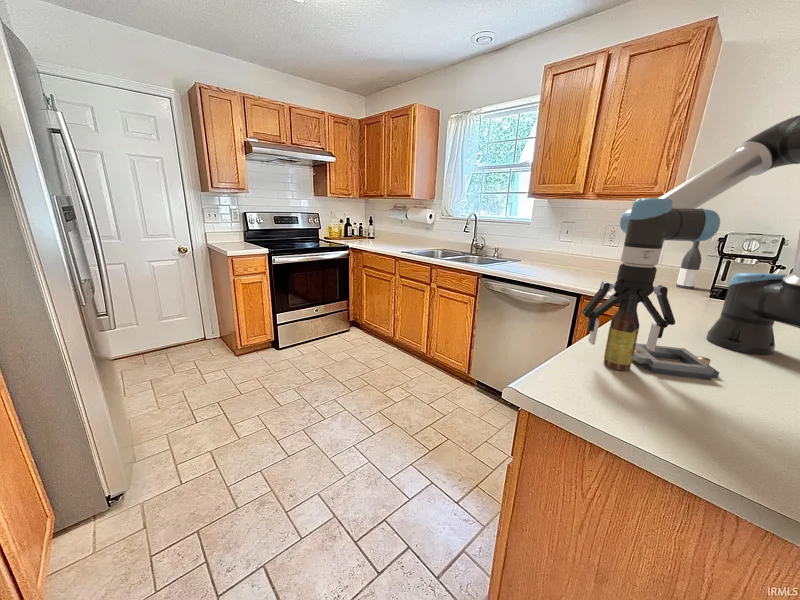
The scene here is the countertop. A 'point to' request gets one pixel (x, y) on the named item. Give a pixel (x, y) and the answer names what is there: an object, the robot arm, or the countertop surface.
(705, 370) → the upper chain end link
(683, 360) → the lower chain end link
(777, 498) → the countertop surface
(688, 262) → the wine bottle
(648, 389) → the countertop surface
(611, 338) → the sauce bottle
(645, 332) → the countertop surface
